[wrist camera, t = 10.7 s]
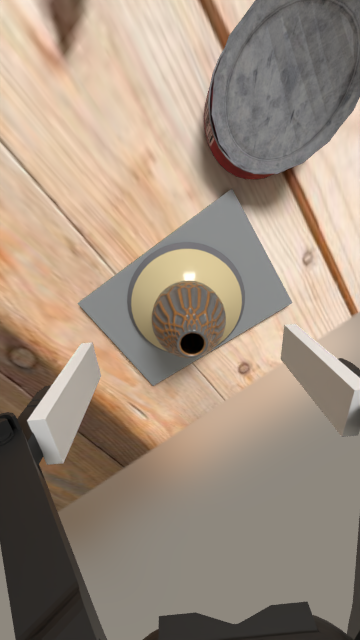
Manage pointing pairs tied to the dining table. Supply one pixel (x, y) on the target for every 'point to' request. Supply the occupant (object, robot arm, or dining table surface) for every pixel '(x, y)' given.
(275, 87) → the canned food
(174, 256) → the board
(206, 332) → the vase
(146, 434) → the dining table surface
